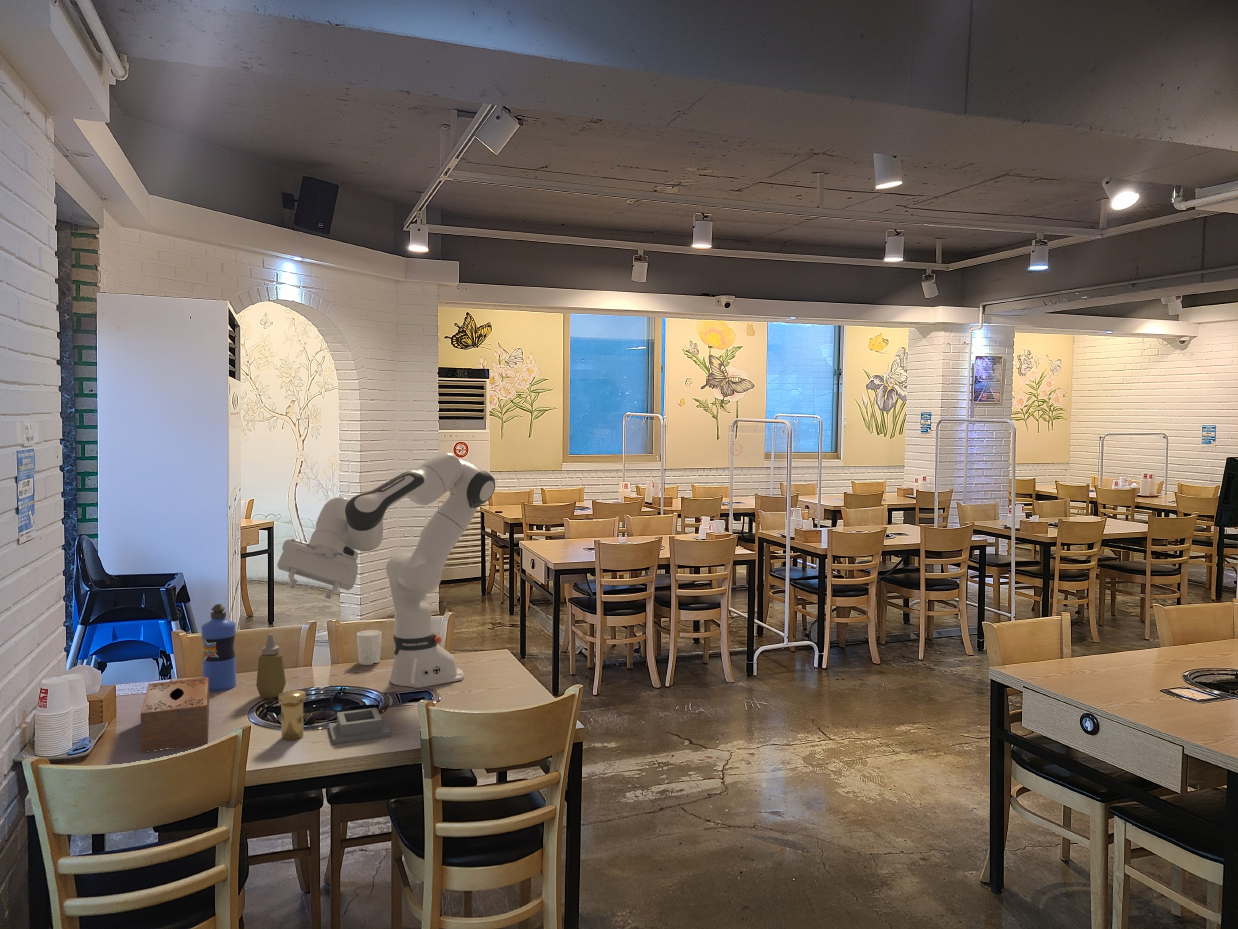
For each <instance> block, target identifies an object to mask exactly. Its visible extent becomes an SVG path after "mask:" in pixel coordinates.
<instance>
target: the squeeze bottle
mask: <svg viewBox="0 0 1238 929" xmlns="http://www.w3.org/2000/svg"><path fill="white" fill-rule="evenodd" d="M261 652H262V653H261V655H259V656H258V662H257V664H258V665H257V674H256V675H257V676H256V685H255V686H256V688H257V691H258V694H259V697H260V698H261V699H273V698H272V697H276V698H278V697H277V696H279V694H281V693H283V692H284V689H285V686H286V682H287V681H286V674H285V665H284V658H283V656H284V655H283V654H282V653H280V646H279V645H276V642H275V639H274V636H273V634H268V635H267V640H266V644H265V646H263V647H262V648H261Z"/></svg>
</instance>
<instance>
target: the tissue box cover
mask: <svg viewBox="0 0 1238 929" xmlns="http://www.w3.org/2000/svg"><path fill="white" fill-rule="evenodd" d="M209 723H210V692H209V677H204V678H203V677H197V678H187V679H179V680H169V681H160V682H159V681H158V682H152V683H151V682H150V683H148V686H147V688H146V692H145V696H144V699H143V704H142V707H141V711H140V746H141V748H140V750H141V751H140V752H146V753H148V752H147V751H154V750H160V749H166V748H175V749H180V748H181V749H182V748H188V747H196V746H204V745H207V744H206V743H208V744H209V731H208V730H209V729H210V728H209V727H210V726H209V725H210V724H209ZM203 744H204V745H203ZM177 747H178V748H177ZM179 747H180V748H179ZM154 752H155V751H154Z"/></svg>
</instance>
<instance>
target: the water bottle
mask: <svg viewBox="0 0 1238 929" xmlns="http://www.w3.org/2000/svg"><path fill="white" fill-rule="evenodd" d="M225 609H226V607H225V606H224V605H223V604H222V603H220V604H219V603H218V604H217V603H216V604H214V605H213V607H212V608H211V612H210V620H209V621H208V622H206V623H203V624H202V625H201V629H200V630H201V638H202V645H203V654H202V678H204V677H209V691H210V692H209V693H213V692H214V693H217V692H225V691H229V690H232V689H234V688H236V687H237V665H236V664H237V663H236V660H237V659H236V653H235V642H236V640H235V638H236V634H237V629H236V628H237V626H236V623H237V622H235V621H233V620H230V619H227V618H226V617H227V611H226V610H225Z"/></svg>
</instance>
